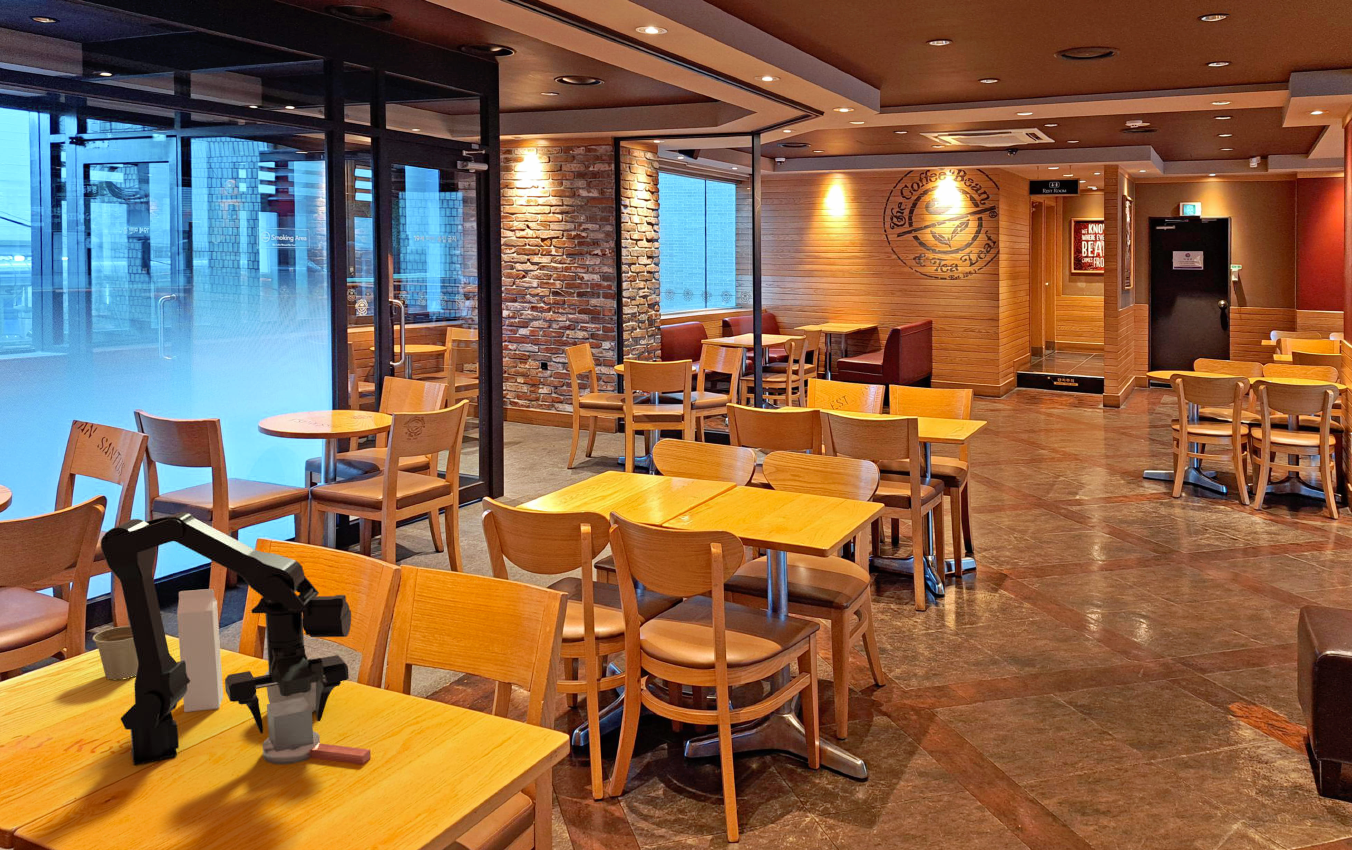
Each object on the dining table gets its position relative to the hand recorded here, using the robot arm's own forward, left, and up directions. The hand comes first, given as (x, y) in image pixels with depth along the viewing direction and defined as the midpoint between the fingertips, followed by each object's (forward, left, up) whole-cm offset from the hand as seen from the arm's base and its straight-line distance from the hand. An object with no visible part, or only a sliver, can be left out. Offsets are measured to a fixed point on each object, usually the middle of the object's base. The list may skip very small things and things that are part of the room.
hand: (290, 726), depth 179 cm
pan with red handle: (+3, -3, -4) cm, 7 cm away
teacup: (+6, +18, -5) cm, 20 cm away
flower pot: (-22, +53, -5) cm, 58 cm away
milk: (-10, +29, -5) cm, 31 cm away
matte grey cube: (0, 0, -2) cm, 3 cm away
